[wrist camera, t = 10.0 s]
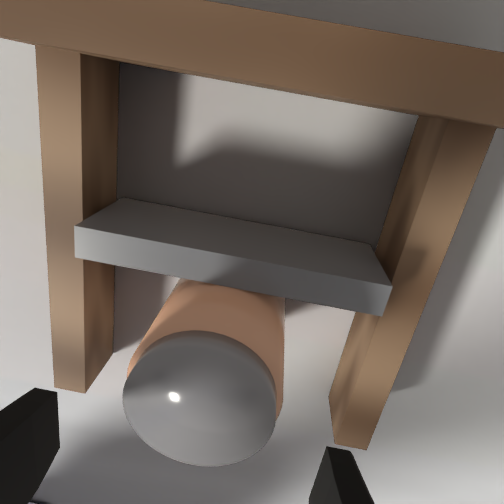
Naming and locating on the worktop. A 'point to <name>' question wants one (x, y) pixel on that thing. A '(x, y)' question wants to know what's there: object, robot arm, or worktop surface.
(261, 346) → the jar
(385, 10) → the worktop surface
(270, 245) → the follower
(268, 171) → the worktop surface
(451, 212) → the brown wooden frame
